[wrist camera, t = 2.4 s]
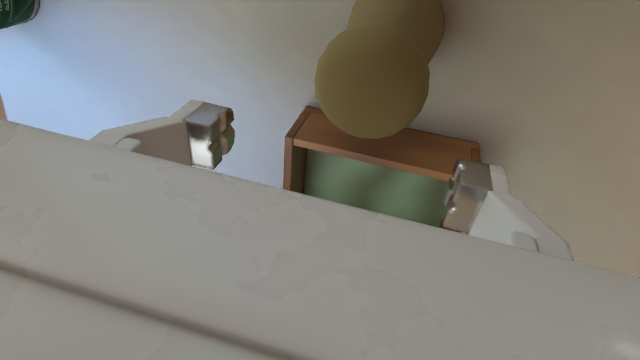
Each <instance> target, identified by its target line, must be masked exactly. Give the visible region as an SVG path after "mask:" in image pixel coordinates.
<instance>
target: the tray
mask: <svg viewBox="0 0 640 360" xmlns="http://www.w3.org/2000/svg"><path fill="white" fill-rule="evenodd" d="M457 159H464V160H469V161H474V162H480V151H479V144H478V143H473V142H469V141H464V140H460V139H455V138H450V137H446V136H441V135H436V134H432V133H427V132H423V131H418V130H413V129H409V128H404V129H403V130H401V131H399V132H397V133H396V134H394V135H391V136H387V137H382V138H378V139H373V138H359V137H356V136H353V135H350V134H347V133H345V132H344V131H342V130H341V129H339V128H338V127H336V126H335V125H334V124H333V123H332V122H331V121H330V120H329V119H328V117H327V116H326V115H325V114H324V113H323V111H322V110H321V109H316V108H312V107H307V106H306V107H305V109H304V110H303V111H302V113H301V114H300V116H299V117H298V119H297V120H296V122H295V123H294V124H293V126H292V127H291V129H290V130H289V132H288V133H287V135H286V136H285V154H284V181H283V189H285V190H289V191H293V192H297V193H301V194H305V195H309V196H313V197H317V198H321V199H325V200H329V201H333V202H337V203H341V204H345V205H350V206H354V207H358V208H362V209H366V210H370V211H374V212H378V213H382V214H386V215H390V216H394V217H398V218H402V219H406V220H410V221H414V222H418V223H422V224H426V225H430V226H434V227H438V228H442V229H446V230H450V231H455V232H459V233H460V231H458V230H454V229H451V228H447V227H443V212H444V209H445V206H444V205H443V199H444V193H445V189H446V186H447V183H448V180H449V179H450V178H451V177H453V167H454V164H455V162H456V160H457ZM480 163H481V162H480Z"/></svg>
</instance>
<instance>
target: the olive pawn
mask: <svg viewBox="0 0 640 360" xmlns="http://www.w3.org/2000/svg"><path fill="white" fill-rule="evenodd" d="M444 20H445V18H444V14H443V10H442V5H441V2H440V1H439V0H357V2H356V3H355V5H354V7H353V10H352V13H351V17H350V20H349V23H348V26H347V29H346V30H344V31H343V32H342V33H340V34H339V35H338V36H337V37H336V38H334V39H333V40H332V41H331V42H330V43H329V44H328V45H327V47H326V49H325V50H324V52H323V54H322V55H321V57H320V59H319V61H318V66H317V71H316V75H315V89H316V98H317V100H318V102H319V104H320V107H321V109H322V111H323V113H324V114H325V115H326V116H327V117H328V119H329V120H330V121H331V122H332V123H333V124H334V125H335V126H336V127H338V128H339V129H341V130H342V131H344V132H345V133H347V134H350V135H353V136H356V137H359V138H373V139H378V138H382V137H387V136H391V135H394V134H396V133H397V132H399V131H401V130H403V129H404V128H406V127H407V126H408V125H409V124H410V123H411V122H412V121H413V120H414V118H415V117H416V116H417V115H418V114H419V113H420V112H421V110H422V108H423V105H424V103H425V101H426V98H427V96H428V88H429V74H430V72H429V69H428V64H429V62H430V60H431V59H432V57H433V55H434V53H435V52H436V50H437V48H438V46H439V43H440V41H441V38H442V36H443V31H444Z"/></svg>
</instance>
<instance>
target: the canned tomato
mask: <svg viewBox="0 0 640 360" xmlns="http://www.w3.org/2000/svg"><path fill="white" fill-rule="evenodd" d="M38 8H39V0H0V29H3V28H8V27H10V26H13V25H16V24H21V23H26V22H28V21H30V20H31V19H33V18H34V16H35V15H36V13H37V11H38Z"/></svg>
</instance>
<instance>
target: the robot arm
mask: <svg viewBox="0 0 640 360" xmlns="http://www.w3.org/2000/svg"><path fill="white" fill-rule="evenodd" d="M233 120H234V116H233V111H232V109H231V108H228V107H223V106H219V105H215V104H211V103H206V102H203V101H198V100H191V101H190V102H188V103H187V104H186V105H184V106H183V107H182V108H181V109H179V110H178V111H177V112H175V113H174V114H173V115H172V116H170V117H161V118H157V119H152V120H148V121H143V122H139V123H134V124H130V125H126V126H121V127H117V128H112V129H108V130H103V131H102V132H100V133H99V134H97V135H96V136H94V137H93V138H91V139H90V140H89V141H87V140H83V139H79V138H75V137H71V136H67V135H63V134H59V133H55V132H51V131H47V130H43V129H39V128H35V127H31V126H27V125H23V124H19V123H15V122H11V121H7V120H3V119H0V360H640V277H636V276H632V275H628V274H624V273H620V272H616V271H612V270H608V269H604V268H600V267H596V266H592V265H588V264H584V263H580V262H576V261H574V259H573V256H572V253H571V250H570V247H569V244H568V243H567V242H566V241H565V240H564V239H563V238H562V237H561V236H560V235H558V234H557V233H556V232H555V231H554V230H553V229H552V228H550V227H549V226H548V225H547V224H546V223H545V222H544V221H543V220H541V219H540V218H539V217H538V216H537V215H536V214H535V213H533V212H532V211H531V210H530V209H529V208H528V207H527V206H526V205H524V204H523V203H522V202H521V201H520V200H519V199H518V198H516V197H515V196H511V193H510V189H509V184H508V179H507V175H506V170H505V168H504V167H500V166H495V165H489V164H485V163H480V162H474V161H469V160H464V159H457V160H456V162H455V164H454V167H453V177H451V178H450V179H449V180H448V183H447V186H446V189H445V193H444V199H443V205H444V206H445V209H444V212H443V227H447V228H451V229H454V230H458V231H462V232H465V233H469V234H468V235H467V234H463V233H459V232H455V231H450V230H446V229H442V228H438V227H434V226H430V225H426V224H422V223H418V222H414V221H410V220H406V219H402V218H398V217H394V216H390V215H386V214H382V213H378V212H374V211H370V210H366V209H362V208H358V207H354V206H350V205H345V204H341V203H337V202H333V201H329V200H325V199H321V198H317V197H313V196H309V195H305V194H301V193H297V192H293V191H289V190H285V189H281V188H277V187H273V186H269V185H265V184H261V183H257V182H253V181H249V180H245V179H241V178H237V177H233V176H229V175H225V174H221V173H217V172H213V171H208V170H204V169H200V168H196V167H192V165H194V166H199V167H204V168H208V169H213V170H214V169H215V167H216V166H217V165H218V164H219V163H220V162H221V161H222V155H225V154H228V152H229V151H230V150H231V148H232V146H233V143H234V137H235V134H234V129H233V127H232V126H231V123H232V121H233Z"/></svg>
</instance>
